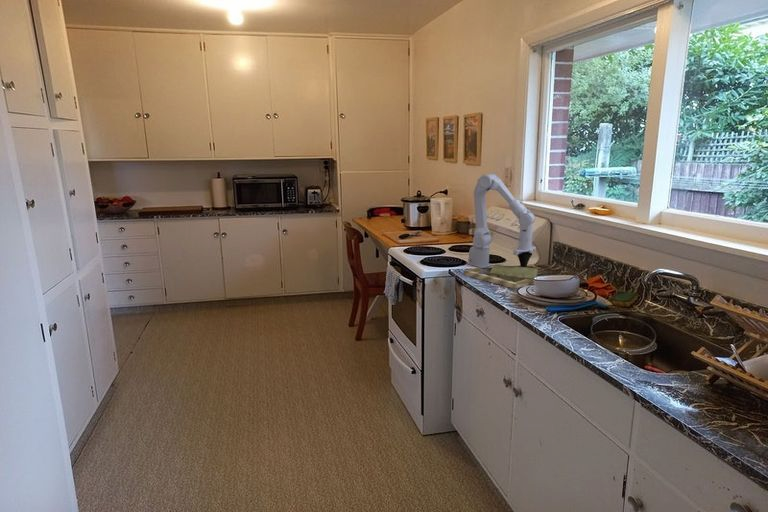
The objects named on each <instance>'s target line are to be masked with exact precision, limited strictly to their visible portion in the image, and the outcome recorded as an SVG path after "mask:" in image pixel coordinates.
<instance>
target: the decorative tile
mask: <svg viewBox="0 0 768 512" xmlns="http://www.w3.org/2000/svg"><path fill="white" fill-rule="evenodd" d="M488 276H492V277H496V278H500V279H503V280H507V281H511V282H518V281H521V280H524V279H528V280H529V284H528V285H534V284H533V280H534V278H535V277H538V268H536V267H535V268H532V267H521V266H514V265H503V264H493V265H492V267H491V269H490V271H489V275H488Z"/></svg>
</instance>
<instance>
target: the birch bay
mask: <svg viewBox="0 0 768 512" xmlns="http://www.w3.org/2000/svg"><path fill="white" fill-rule="evenodd" d="M481 271H482V268H481V267H477V266H476V267H473V268H470V269H465V270H464V271H463V276H466V277H470V278H474V279H478V280H480V281H485V282H488V283H491V284H495V285H496V284H497V285H499V286H503V287H506V288H511V289H513V290H515V289H518V288H522V287H525V286H527V285H530V284H529V280H528V279H524V280H521V281H518V282H511V281H507V280H503V279H500V278H496V277H492V276H489V275H487V274H484V273H481Z"/></svg>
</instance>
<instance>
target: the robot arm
mask: <svg viewBox="0 0 768 512" xmlns="http://www.w3.org/2000/svg"><path fill="white" fill-rule="evenodd" d="M476 181H477V182H476V185H475V186H474V189H473V203H474V205H473V206H474V216H475V217H474V218H475V230H474V233H473V239H472V244H473V246H471V247H470V248H469V250H468V251H469V252H468V263H467V265H469V266H473V267H476V268H477V267H479V268H481V269H484V268H487V267H491V266H492V267H493V264H492V263H490V245H491V243H492V242H493V238H492V235H491V233H490V229H489V228H488V218H487V203H486V194H487V193H488V192H490V190H492V191H497V192H498V194H500V195H501V197H503V199H504V200H505V201H506V202H507V203H508V209H510V211H511V212H512V214H513V215H514V216H515V217H516V218H517V219H518V224H519V236H518V247H517V248H516V249H514V250H513V252H512V254H513V255H516V256H517V257H518V261H519V265H520V266H519V267H526V268H528V267H527V266H528V264H529V261H530V258H532V255H533V252H535V251H536V249H537V247H536V246H535V245H533V231H534V230H533V229H534V223H535V221H536V216H535V214H534V213H533V212H532V211H530V209H527V207H526V206H525V205H524V201H523V200H520V199H516V198H515V197H514V196H513V194H512V192H511V191H510V190H509V189H508V188H507V186H506V185H505V183H504V182H503V180H502V179H501V178H500V177H499V176H498V175H497V174H495V173H490V174H483V175H481V176H480V177H479V178H478V179H477V180H476ZM532 245H533V246H532Z"/></svg>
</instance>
